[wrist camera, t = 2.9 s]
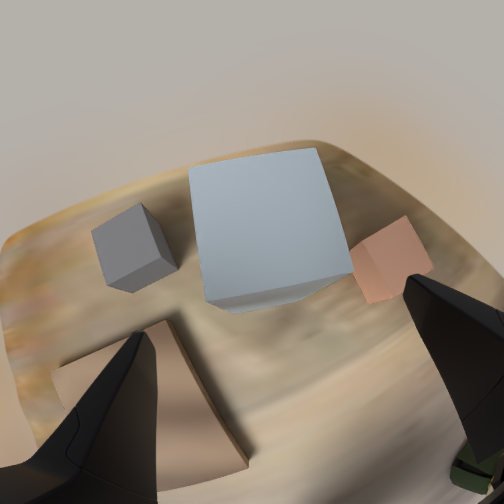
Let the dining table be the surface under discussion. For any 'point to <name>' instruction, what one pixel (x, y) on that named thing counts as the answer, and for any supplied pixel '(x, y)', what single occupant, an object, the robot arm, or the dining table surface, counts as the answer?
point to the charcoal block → (133, 250)
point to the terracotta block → (389, 260)
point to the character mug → (475, 472)
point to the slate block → (266, 230)
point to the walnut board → (168, 412)
